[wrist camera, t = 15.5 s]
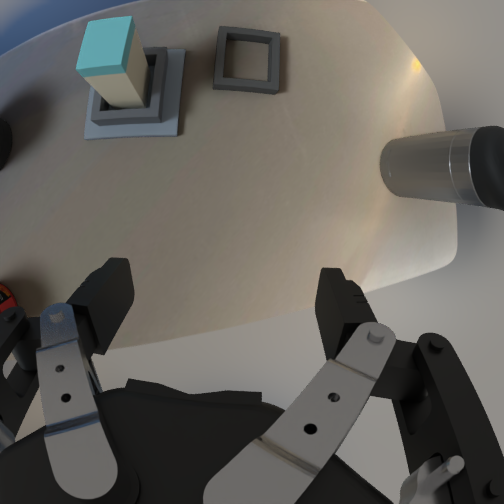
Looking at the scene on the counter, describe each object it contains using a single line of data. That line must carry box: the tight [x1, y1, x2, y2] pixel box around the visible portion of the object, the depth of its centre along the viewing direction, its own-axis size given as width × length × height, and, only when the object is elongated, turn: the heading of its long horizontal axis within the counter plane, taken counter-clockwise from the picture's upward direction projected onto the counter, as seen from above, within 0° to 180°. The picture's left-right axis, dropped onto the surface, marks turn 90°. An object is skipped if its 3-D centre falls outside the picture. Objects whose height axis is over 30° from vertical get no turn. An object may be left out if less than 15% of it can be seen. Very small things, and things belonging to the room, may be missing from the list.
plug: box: [76, 16, 151, 110], centre depth 23 cm, size 4×5×14 cm
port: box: [84, 47, 185, 140], centre depth 29 cm, size 12×12×4 cm
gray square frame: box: [213, 26, 280, 95], centre depth 32 cm, size 8×9×2 cm
